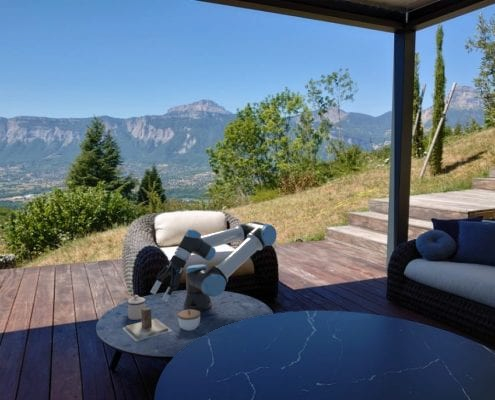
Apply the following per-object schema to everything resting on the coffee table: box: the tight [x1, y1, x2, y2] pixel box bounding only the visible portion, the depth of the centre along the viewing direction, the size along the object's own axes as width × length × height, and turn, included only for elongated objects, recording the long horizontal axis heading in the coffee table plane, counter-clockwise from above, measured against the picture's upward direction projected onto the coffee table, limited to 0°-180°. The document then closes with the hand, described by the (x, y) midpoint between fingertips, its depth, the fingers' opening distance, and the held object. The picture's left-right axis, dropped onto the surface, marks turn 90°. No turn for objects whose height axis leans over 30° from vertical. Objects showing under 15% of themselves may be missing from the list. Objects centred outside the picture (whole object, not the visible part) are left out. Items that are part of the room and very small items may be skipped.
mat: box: [121, 319, 173, 342], centre depth 196 cm, size 18×18×1 cm
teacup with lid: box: [126, 294, 146, 321], centre depth 212 cm, size 12×9×12 cm
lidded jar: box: [177, 309, 201, 332], centre depth 196 cm, size 11×11×9 cm
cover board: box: [125, 306, 169, 339], centre depth 195 cm, size 15×15×10 cm
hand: (158, 296), depth 197 cm, fingers open, 13 cm apart
